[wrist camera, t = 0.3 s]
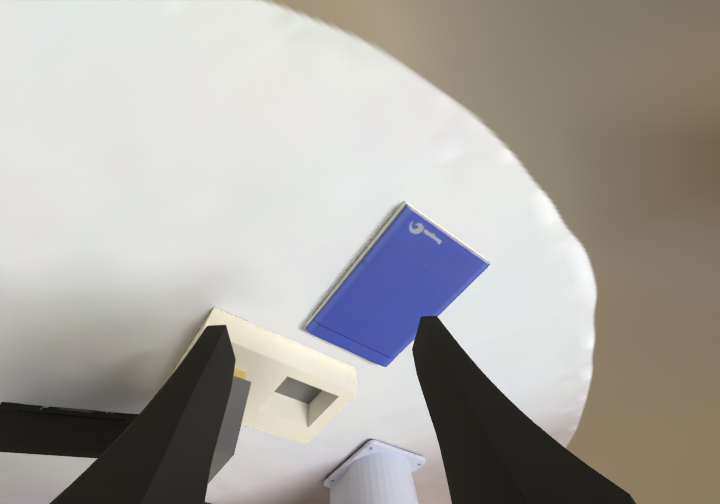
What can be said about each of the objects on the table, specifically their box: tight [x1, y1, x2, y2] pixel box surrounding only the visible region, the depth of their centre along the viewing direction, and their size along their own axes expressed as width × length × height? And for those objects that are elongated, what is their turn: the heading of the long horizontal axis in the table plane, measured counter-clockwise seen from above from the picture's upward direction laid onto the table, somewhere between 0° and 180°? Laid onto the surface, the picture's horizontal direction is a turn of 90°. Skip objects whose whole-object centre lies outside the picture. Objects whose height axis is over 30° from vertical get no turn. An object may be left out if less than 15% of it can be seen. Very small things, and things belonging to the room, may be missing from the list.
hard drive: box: [306, 201, 490, 367], centre depth 24 cm, size 2×8×12 cm
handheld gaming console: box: [0, 402, 139, 458], centre depth 26 cm, size 12×7×10 cm
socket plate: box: [170, 307, 358, 444], centre depth 26 cm, size 8×13×3 cm, turn 54°
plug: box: [208, 368, 251, 483], centre depth 21 cm, size 3×3×6 cm
